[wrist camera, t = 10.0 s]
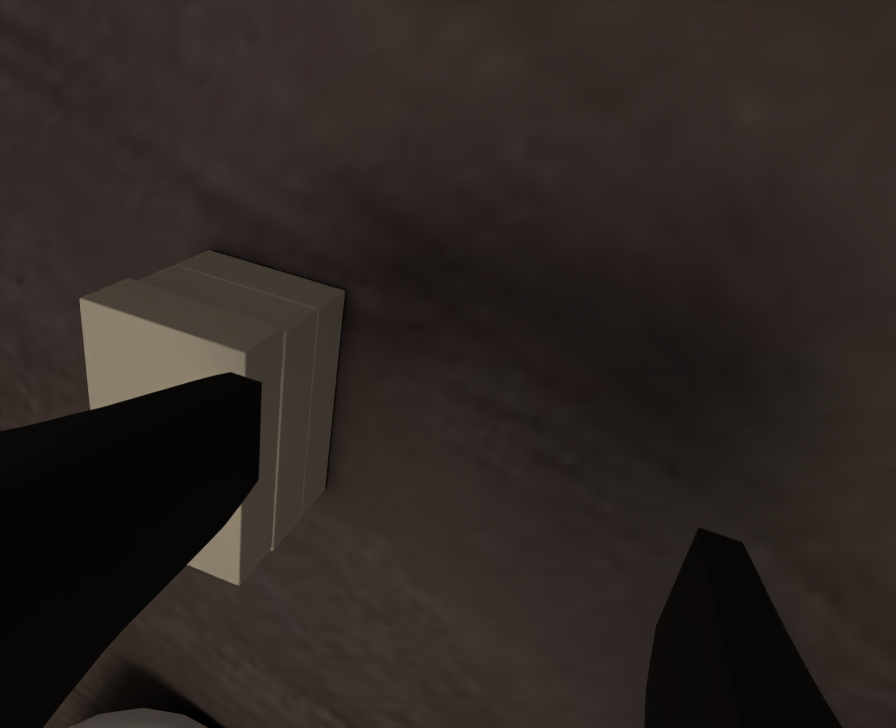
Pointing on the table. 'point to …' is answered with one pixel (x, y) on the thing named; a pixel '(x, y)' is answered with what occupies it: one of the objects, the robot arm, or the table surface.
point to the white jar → (139, 720)
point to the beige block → (302, 369)
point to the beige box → (184, 360)
